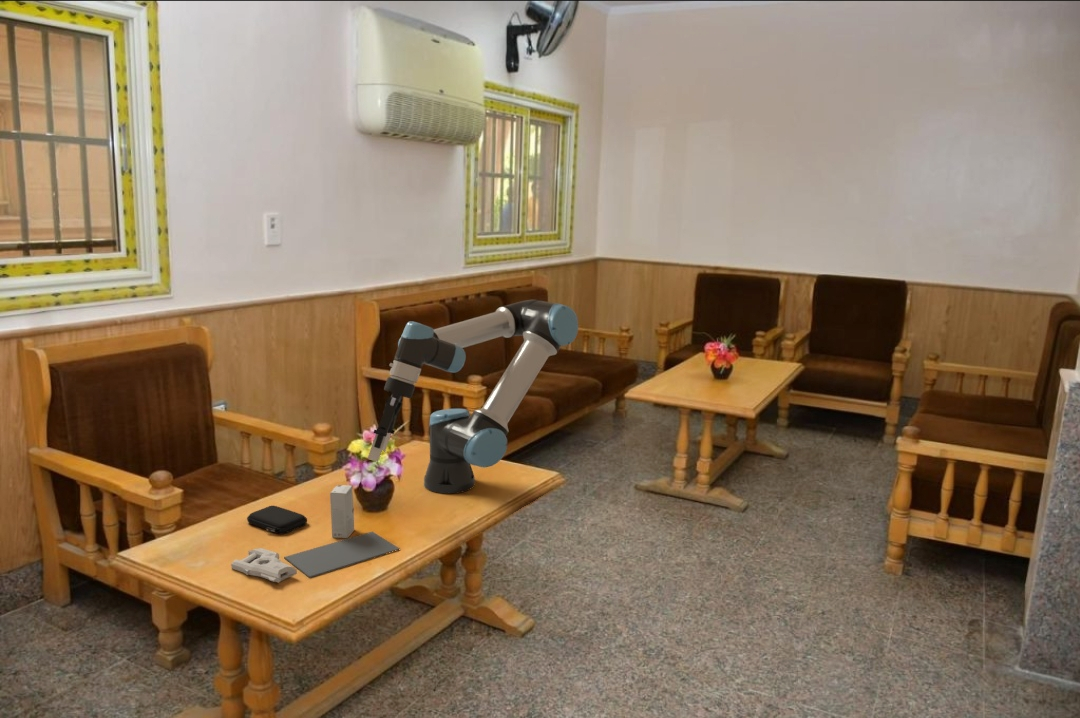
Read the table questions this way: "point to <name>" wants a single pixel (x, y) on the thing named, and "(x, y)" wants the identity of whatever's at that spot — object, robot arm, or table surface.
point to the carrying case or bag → (277, 519)
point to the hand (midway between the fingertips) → (375, 457)
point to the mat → (340, 554)
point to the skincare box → (342, 511)
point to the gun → (264, 565)
